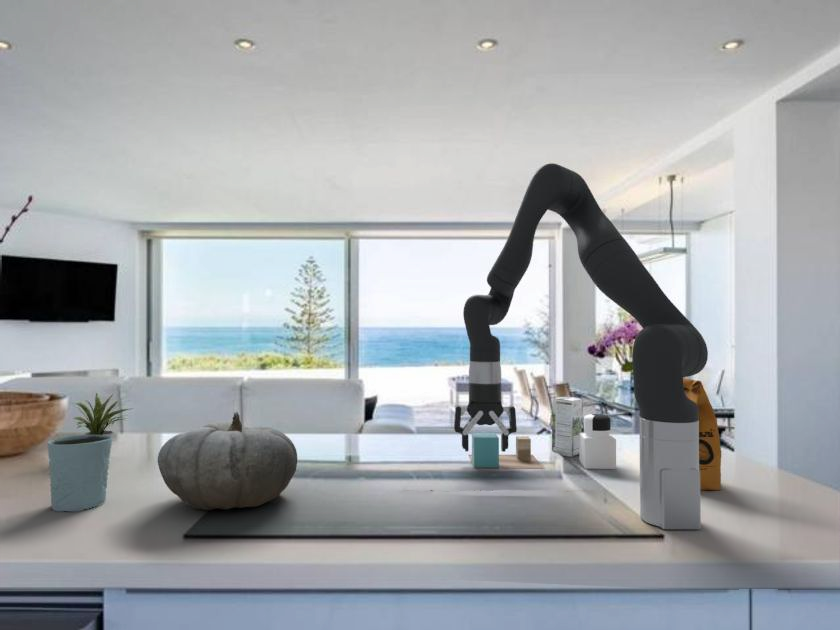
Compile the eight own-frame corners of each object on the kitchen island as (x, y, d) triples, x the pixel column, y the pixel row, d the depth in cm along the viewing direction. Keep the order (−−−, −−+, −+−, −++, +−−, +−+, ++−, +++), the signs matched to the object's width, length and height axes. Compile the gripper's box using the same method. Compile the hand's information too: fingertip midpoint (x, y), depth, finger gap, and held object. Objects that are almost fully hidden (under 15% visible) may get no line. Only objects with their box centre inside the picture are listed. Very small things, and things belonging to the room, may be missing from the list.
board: (545, 473, 126) (545, 446, 126) (473, 473, 126) (473, 446, 126) (532, 458, 140) (532, 434, 140) (468, 458, 140) (468, 434, 140)
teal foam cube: (498, 467, 127) (498, 438, 127) (474, 467, 127) (474, 438, 127) (495, 461, 133) (495, 433, 133) (471, 461, 133) (471, 433, 133)
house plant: (100, 467, 130) (101, 397, 131) (47, 465, 132) (48, 396, 133) (140, 454, 144) (141, 390, 145) (92, 452, 146) (93, 389, 147)
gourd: (145, 517, 88) (161, 406, 92) (155, 500, 111) (167, 411, 114) (305, 515, 97) (312, 414, 101) (283, 499, 120) (290, 417, 123)
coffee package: (677, 491, 112) (676, 381, 113) (657, 474, 125) (656, 375, 125) (729, 492, 111) (728, 381, 112) (703, 476, 124) (702, 376, 124)
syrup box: (561, 450, 149) (560, 396, 149) (582, 454, 145) (582, 397, 146) (551, 454, 145) (551, 398, 145) (573, 457, 141) (572, 400, 141)
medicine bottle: (609, 462, 136) (608, 412, 136) (616, 469, 129) (616, 417, 129) (579, 461, 137) (578, 412, 137) (584, 469, 130) (584, 417, 130)
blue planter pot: (37, 515, 97) (38, 445, 97) (58, 498, 107) (59, 435, 107) (102, 510, 100) (103, 442, 100) (117, 494, 110) (117, 432, 110)
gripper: (455, 382, 126) (455, 454, 126) (518, 382, 127) (518, 454, 126) (453, 379, 134) (453, 447, 134) (512, 379, 134) (513, 447, 134)
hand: (485, 450), depth 130 cm, fingers open, 8 cm apart
